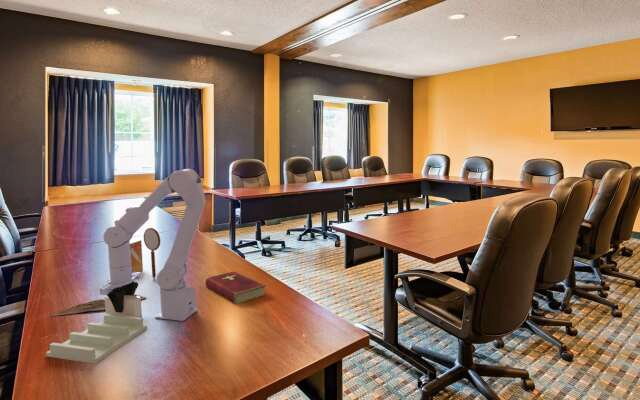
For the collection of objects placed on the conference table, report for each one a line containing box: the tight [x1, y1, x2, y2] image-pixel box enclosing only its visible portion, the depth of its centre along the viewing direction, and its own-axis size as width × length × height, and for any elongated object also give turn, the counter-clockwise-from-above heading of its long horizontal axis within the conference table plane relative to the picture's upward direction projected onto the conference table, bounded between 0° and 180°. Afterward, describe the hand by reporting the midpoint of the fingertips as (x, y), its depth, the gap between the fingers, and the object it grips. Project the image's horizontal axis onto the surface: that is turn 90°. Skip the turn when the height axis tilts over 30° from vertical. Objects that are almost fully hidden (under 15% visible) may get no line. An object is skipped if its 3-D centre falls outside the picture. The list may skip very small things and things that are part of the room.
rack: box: [45, 313, 148, 364], centre depth 100 cm, size 14×18×3 cm
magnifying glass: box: [143, 227, 161, 280], centre depth 146 cm, size 9×2×20 cm, turn 61°
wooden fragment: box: [52, 293, 147, 317], centre depth 122 cm, size 26×11×1 cm, turn 119°
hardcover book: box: [204, 270, 267, 305], centre depth 135 cm, size 12×21×4 cm, turn 42°
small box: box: [130, 238, 144, 273], centre depth 153 cm, size 8×6×13 cm
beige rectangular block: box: [104, 295, 143, 318], centre depth 115 cm, size 10×3×6 cm, turn 77°
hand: (123, 309), depth 115 cm, fingers closed on beige rectangular block, 3 cm apart
